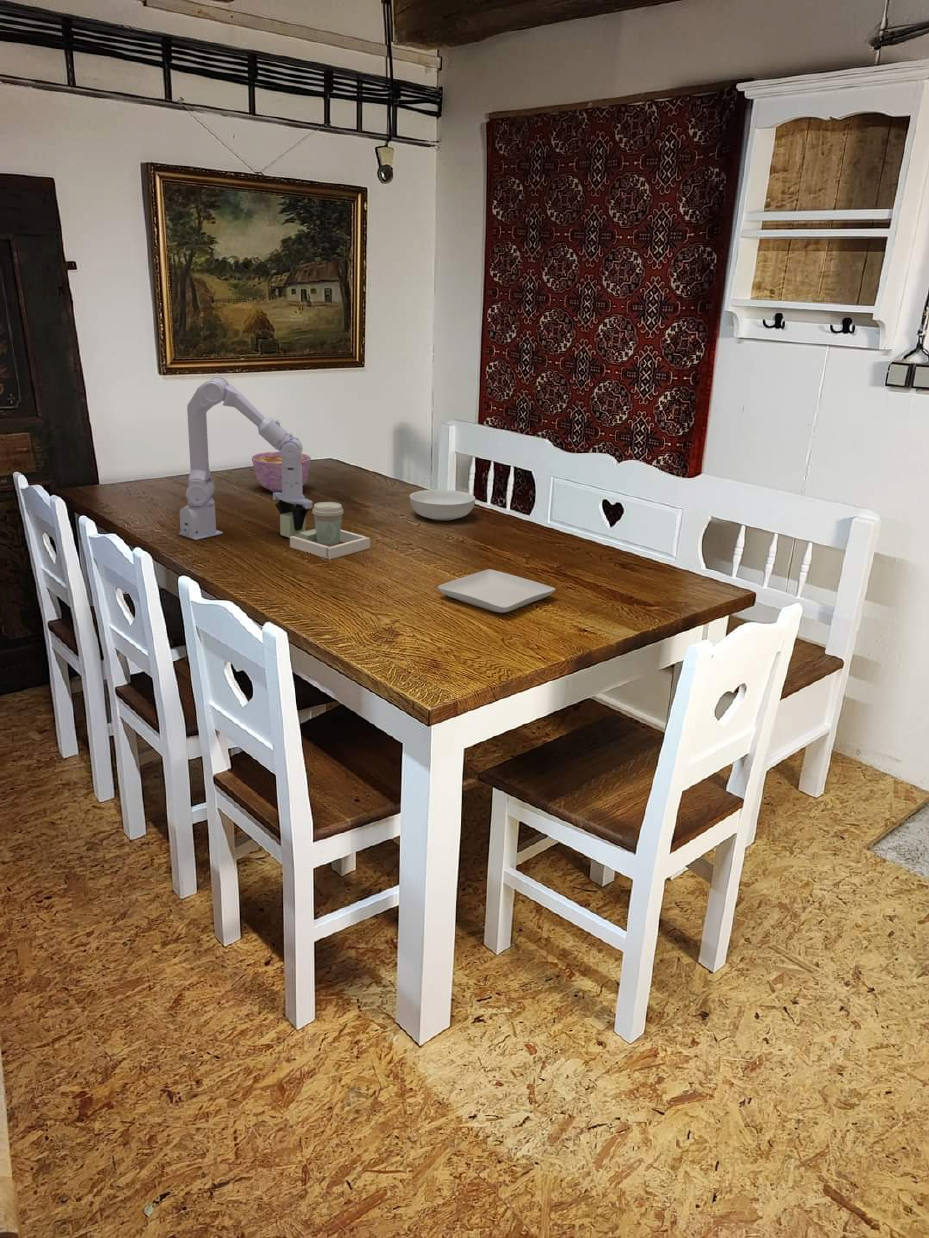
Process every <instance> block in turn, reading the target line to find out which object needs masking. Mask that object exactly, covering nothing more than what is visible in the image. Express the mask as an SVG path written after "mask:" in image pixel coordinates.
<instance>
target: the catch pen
mask: <svg viewBox="0 0 929 1238" xmlns="http://www.w3.org/2000/svg"><path fill="white" fill-rule="evenodd" d="M339 542H341V543H339V545H335V546H332V547H328V546H325V545H322V544H318V543H315V542H312V541H308V540H305V539H302V538H298V537H295V536H291V537H290V538H289V548H292V549H295V550H299V551H301V552H304V553H307V552H308V553H309V554H310V553H311V555H314V556H317V557H321V558H323V559H327V560H332V559H337V558H339V557H340V558H341V557H343V556H347V555H350V554H354V553H357V552H361V551H364V550H368V549H371V538H370V536H369V537H368V536H366V535H362V534H359V533H354V532H350V531H347V530H343V529H341V531H340V540H339ZM308 553H307V554H308Z"/></svg>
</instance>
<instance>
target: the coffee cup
mask: <svg viewBox="0 0 929 1238" xmlns="http://www.w3.org/2000/svg"><path fill="white" fill-rule="evenodd" d="M312 514H313V520H314V522H313V523H314V529H316V537H317V543H318V544H322V545H325V546H328V547H332V546H335V545H339V544H340V541H339V540H340V531H341V530H342V520H343V514H344V508H343V506H342V504H341V503H339V502H335V501H334V502H333V501H322V502H317V503H314V505H313V508H312Z"/></svg>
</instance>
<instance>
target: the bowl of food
mask: <svg viewBox="0 0 929 1238" xmlns="http://www.w3.org/2000/svg"><path fill="white" fill-rule="evenodd" d="M251 460H252V465H253V469H254V472H255V477H256V478H257V481H258V483H259V484H260V485H261V486H262V487H263V488H265V489H266V490H269V491H270V492H271V493H276V492H280V493H282V471H281V466H282V458H281V456H280V454H279V451H267V452H261V453H256V454H254V455H252V456H251ZM301 460H302V463H301V465H302V487H304V485H305V483H306V482H307V478H308V474H309V470H310V465H311V460H312V456H310V455H308V454H306V453H301Z"/></svg>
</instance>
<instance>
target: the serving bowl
mask: <svg viewBox="0 0 929 1238" xmlns="http://www.w3.org/2000/svg"><path fill="white" fill-rule="evenodd" d="M409 501H410V505H411V507H412V509H413V511H414V512H415V513H416V514H418V515H420V516H422V517H424V518H427V519H430V520H433V521H440V522H443V521H444V522H445V521H452V520H457V519H460V518H464V517H465V516H467V515H469V514H470V512H471V511H472V510H473V508H474V507H475V502H476V497H475V496H474V495H473V494H471V493H468V492H465V491H462V490H461V491H459V490H451V489H424V490H419V491H415V492H412V493H410V494H409Z"/></svg>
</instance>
